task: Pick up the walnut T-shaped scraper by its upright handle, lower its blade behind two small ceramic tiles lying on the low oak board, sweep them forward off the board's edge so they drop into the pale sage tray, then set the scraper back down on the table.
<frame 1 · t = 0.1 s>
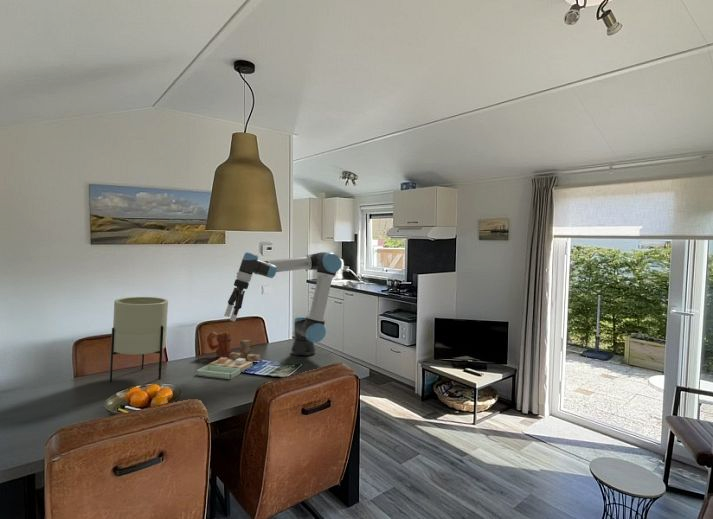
hand: (229, 318, 211), 28 cm above the table, tool tilted 20°, fingers open, 13 cm apart
planter: (140, 377, 198), on the table
tray: (219, 374, 204), on the table
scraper: (245, 361, 229), on the table
board: (230, 368, 215), on the table
tile a: (240, 363, 215), point 3 cm above the table, touching board
reddish brown curved figurine: (219, 357, 236), on the table
tile b: (222, 362, 216), point 3 cm above the table, touching board
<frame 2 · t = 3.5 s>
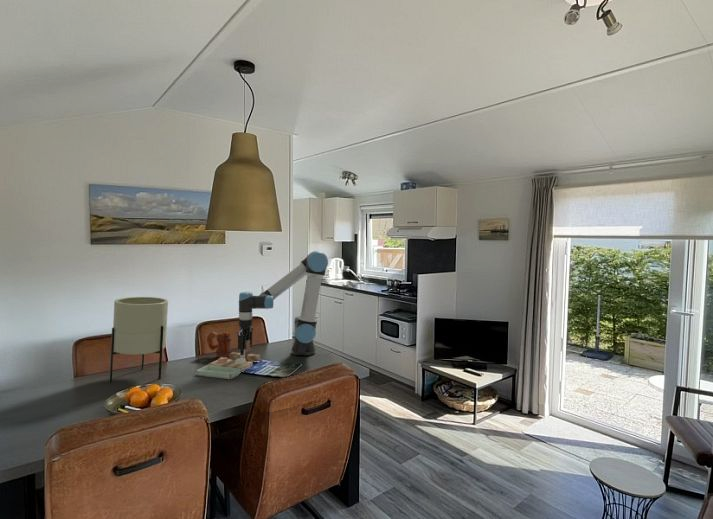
hand: (245, 359, 229), 1 cm above the table, tool pointing down, fingers closed on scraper, 4 cm apart
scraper: (245, 361, 229), on the table, touching gripper
everything else where it was.
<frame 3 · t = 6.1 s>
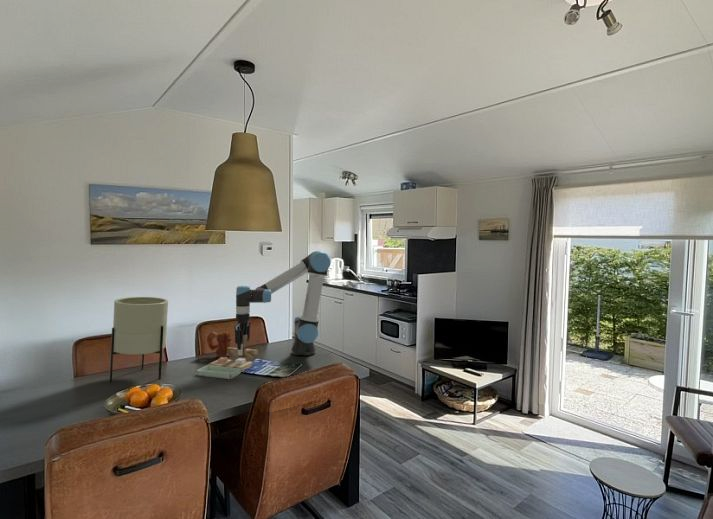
hand: (242, 353, 226), 5 cm above the table, tool pointing down, fingers closed on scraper, 4 cm apart
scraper: (242, 355, 226), point 4 cm above the table, touching gripper
everything else where it was.
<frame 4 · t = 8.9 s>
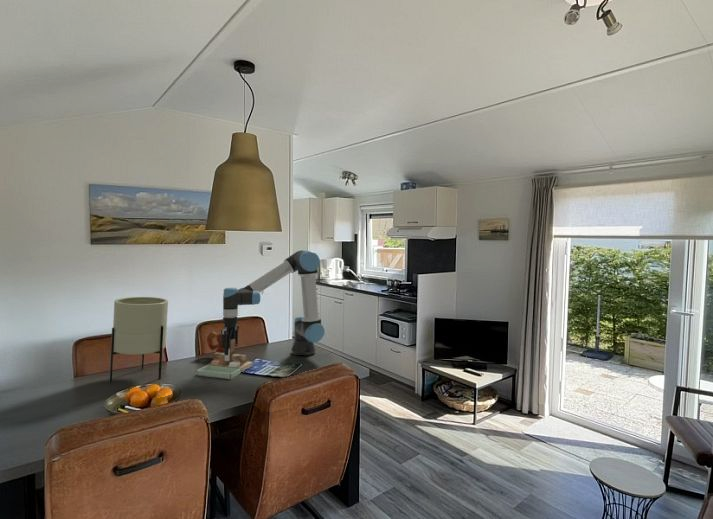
hand: (229, 359, 214), 5 cm above the table, tool pointing down, fingers closed on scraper, 4 cm apart
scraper: (229, 361, 214), point 4 cm above the table, touching gripper
tile a: (234, 366, 209), point 3 cm above the table
tile b: (217, 364, 212), point 3 cm above the table, touching board
everything else where it was.
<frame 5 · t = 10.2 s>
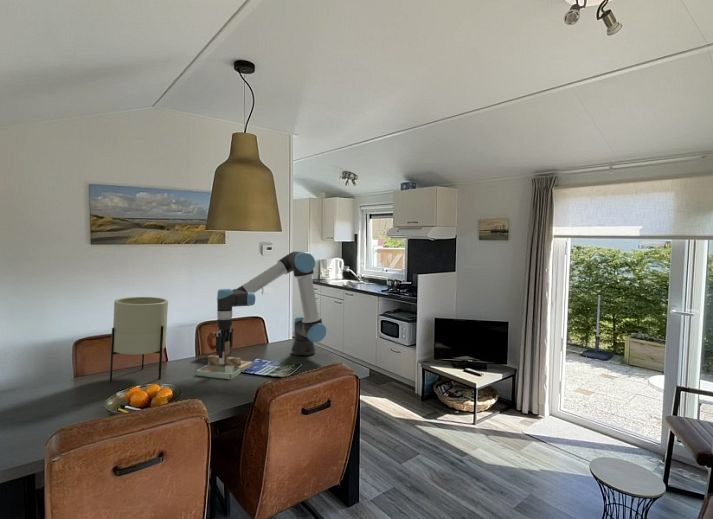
hand: (224, 362, 209), 5 cm above the table, tool pointing down, fingers closed on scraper, 4 cm apart
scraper: (224, 364, 209), point 4 cm above the table, touching gripper
tile a: (230, 369, 205), point 2 cm above the table, tilted 90°, touching tray
tile b: (209, 368, 205), point 2 cm above the table, tilted 180°, touching tray
everything else where it was.
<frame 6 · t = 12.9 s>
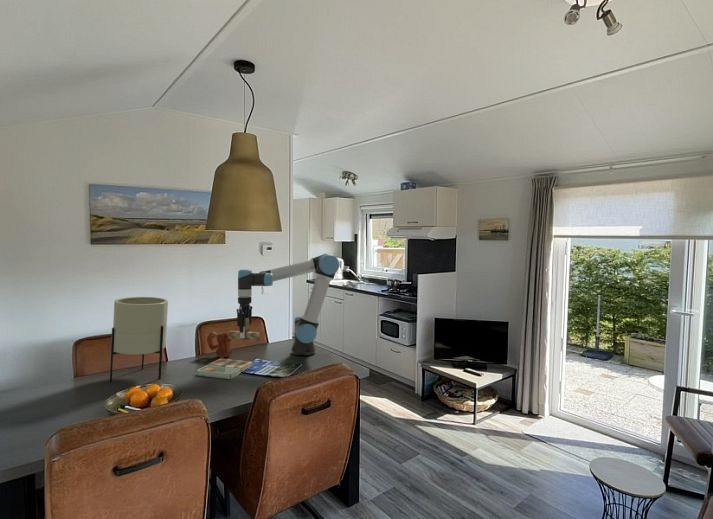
hand: (244, 336, 227), 14 cm above the table, tool pointing down, fingers closed on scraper, 4 cm apart
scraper: (244, 338, 227), point 13 cm above the table, touching gripper
everything else where it was.
when the fingers open (2 cm above the table, at t = 15.0 s): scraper stays where it is, on the table.
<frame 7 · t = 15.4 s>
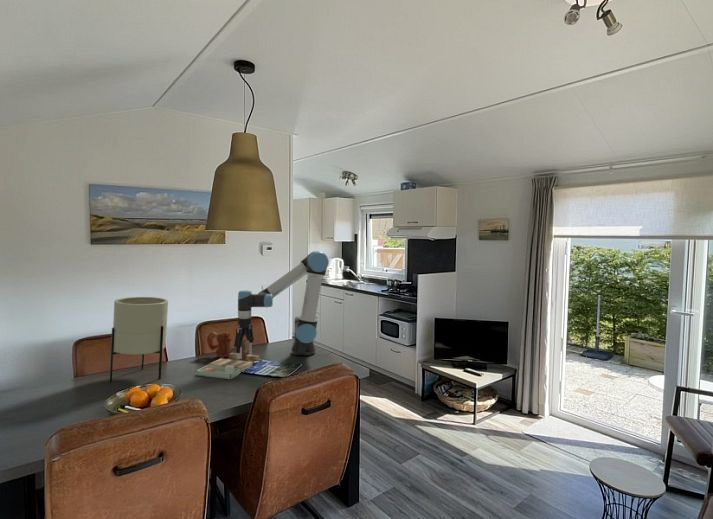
hand: (244, 356, 228), 3 cm above the table, tool pointing down, fingers open, 10 cm apart
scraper: (244, 361, 228), on the table
everything else where it was.
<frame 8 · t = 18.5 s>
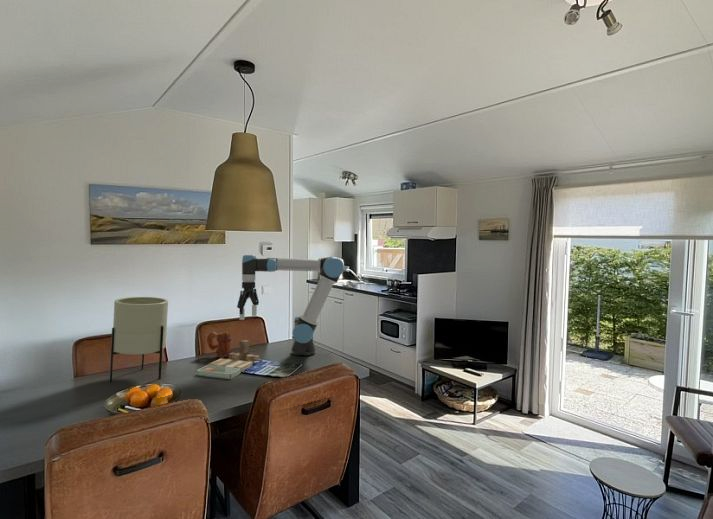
hand: (248, 317, 231), 25 cm above the table, tool pointing down, fingers open, 13 cm apart
nothing on the table moved.
at the end: tile a inside the target area (6.0 cm from its centre), point 2.4 cm above the table; tile b inside the target area (5.6 cm from its centre), point 2.4 cm above the table; the gripper is holding nothing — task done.
